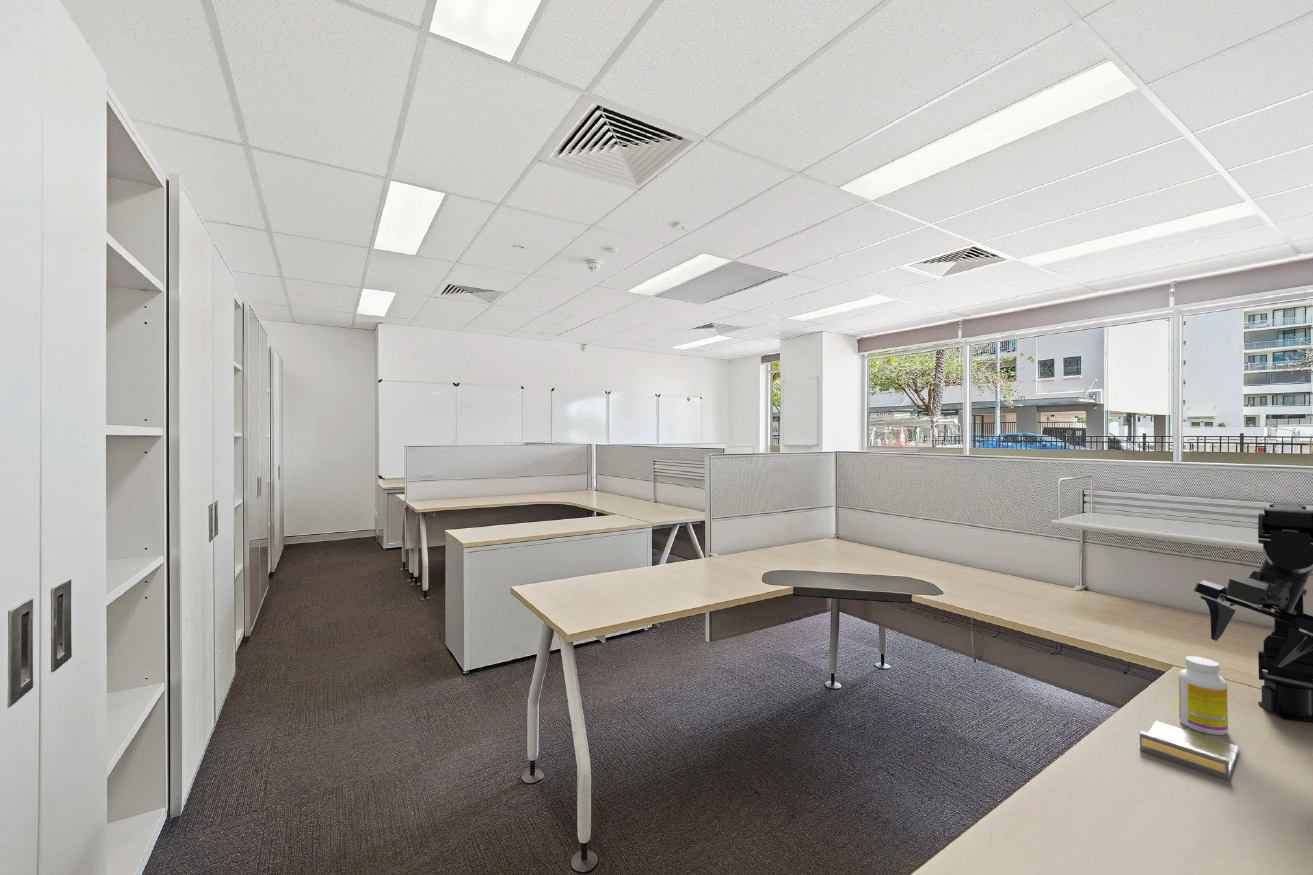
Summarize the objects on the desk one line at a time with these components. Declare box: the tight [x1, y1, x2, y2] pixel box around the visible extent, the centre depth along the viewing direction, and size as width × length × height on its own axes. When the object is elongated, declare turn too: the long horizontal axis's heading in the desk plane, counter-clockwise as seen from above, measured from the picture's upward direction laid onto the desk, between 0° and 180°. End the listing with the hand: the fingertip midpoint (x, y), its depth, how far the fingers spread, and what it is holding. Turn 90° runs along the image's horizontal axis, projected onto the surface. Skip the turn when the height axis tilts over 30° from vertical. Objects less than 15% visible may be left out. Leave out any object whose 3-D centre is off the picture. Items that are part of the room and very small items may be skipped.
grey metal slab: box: [1139, 720, 1240, 781], centre depth 97 cm, size 13×11×3 cm
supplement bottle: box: [1178, 655, 1229, 736], centre depth 105 cm, size 7×7×13 cm
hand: (1244, 652), depth 99 cm, fingers open, 9 cm apart
